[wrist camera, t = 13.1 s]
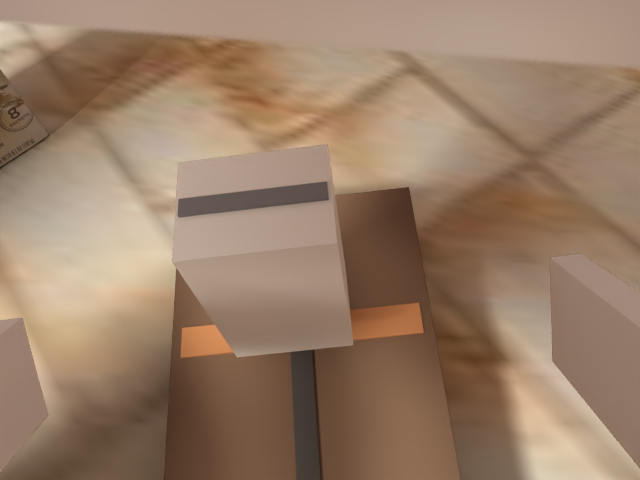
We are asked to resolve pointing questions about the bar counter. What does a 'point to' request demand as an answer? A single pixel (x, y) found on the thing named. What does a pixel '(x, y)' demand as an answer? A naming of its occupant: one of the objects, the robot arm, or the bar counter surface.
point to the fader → (264, 249)
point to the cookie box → (16, 123)
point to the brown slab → (321, 376)
